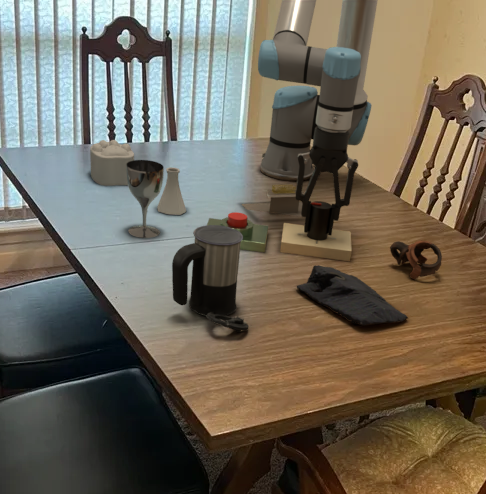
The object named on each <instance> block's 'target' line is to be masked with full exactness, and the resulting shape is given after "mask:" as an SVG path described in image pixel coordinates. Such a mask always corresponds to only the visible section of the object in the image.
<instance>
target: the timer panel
mask: <svg viewBox="0 0 486 494" xmlns="http://www.w3.org/2000/svg"><path fill="white" fill-rule="evenodd" d="M304 225H305V224H304ZM304 225H303V224H297V223H288V222H283V226H282V235H281V242H280V248H279V249H280V251H279V252H280V253H284V254H291V255H299V256H306V257H315V258H321V259H328V260H329V259H330V260H336V261H344V262H351V257H352V249H353V248H352V235H351V234H352V233H351V231H350V230H341V229H334V228H332V235H328V236H327V239H325V240H313V239H311V238H309V237H307V233H305V232H304Z"/></svg>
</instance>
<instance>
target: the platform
mask: <svg viewBox="0 0 486 494" xmlns="http://www.w3.org/2000/svg"><path fill="white" fill-rule="evenodd" d="M296 187H297V186H294V185H293V184H272V185H271V189H267V192H266V196H267V198H270V202H259V203H258V202H257V203H255V202H254V203H241V206H242V207H243V208H244V209H245V210H247V211H255V212H262V213H269V214H275V215H285V216H292V217H301V218H303V217H302V215H301V210H302V202H301V201H300V200H296ZM302 194H305V191H302Z"/></svg>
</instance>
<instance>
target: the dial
mask: <svg viewBox="0 0 486 494" xmlns="http://www.w3.org/2000/svg"><path fill="white" fill-rule="evenodd" d="M331 210H332V203H329V202H327V201H320V200H319V201H318V200H316V201H311V210H310V218H309V225H308V232H307V237H309V238H311V239H313V240H325V239H327V236H328V229H329V223H330V216H331Z"/></svg>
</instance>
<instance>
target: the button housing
mask: <svg viewBox="0 0 486 494" xmlns="http://www.w3.org/2000/svg"><path fill="white" fill-rule="evenodd" d="M207 225H219V226H226V227H229V228H232V229H235V230H237V231H239V232H240V233H241V234H242V236H243V239H242V241H241V244H240V251H241V250H242V251H250V252H256V253H257V252H258V253H265V251H266V245H267V239H268V235H269V225H266V224H258V223H254V222H253V221H251V220H250V219H247V226H245V227H233V226H230V225H228V216H227V217H224V218H222V219H220V218H211V217H209V218H208V221H207V224H206V226H207Z"/></svg>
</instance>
